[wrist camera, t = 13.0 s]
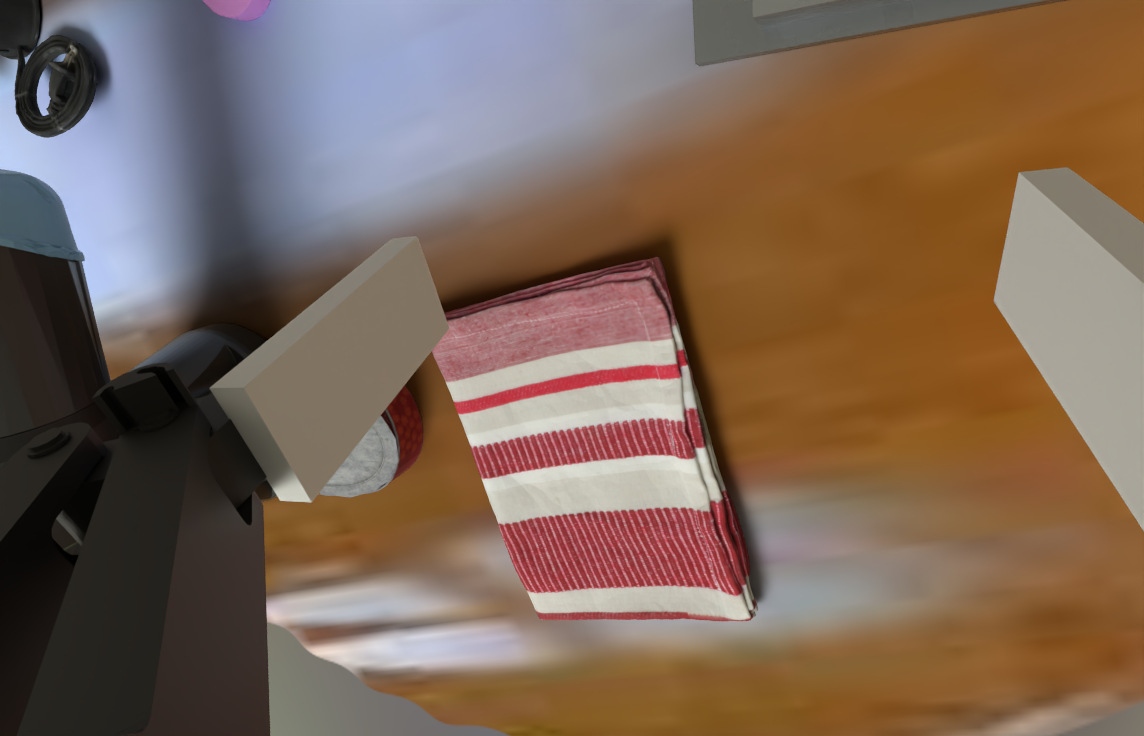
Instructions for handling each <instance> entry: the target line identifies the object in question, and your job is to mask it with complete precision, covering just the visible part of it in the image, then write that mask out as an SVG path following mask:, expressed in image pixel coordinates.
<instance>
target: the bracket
mask: <svg viewBox="0 0 1144 736" xmlns="http://www.w3.org/2000/svg"><path fill="white" fill-rule="evenodd" d="M203 1H204V2H205V4H206V5H207V6H208V7H209V8H210V9H211V10H212V11H213V12H215V13H216V14H218V15H220V16H223V17H228V18H233V19H238V20H243V21H250V20H254V19H256V18H258V17H259V16H261V15H262V14H263V13H264V12H265V10H266V9H267V7H268V5H269V3H270V1H271V0H203Z"/></svg>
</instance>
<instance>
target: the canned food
mask: <svg viewBox="0 0 1144 736" xmlns="http://www.w3.org/2000/svg"><path fill="white" fill-rule="evenodd" d="M422 444H423V426H422V419H421V416H420V413H419V410H418V407H417V405H416V403H415V401H414V399H413V397H412V395H411V393H410V392H409V390H408V389H407V387H406V386H405V385H404V386H403V388H402V389H401V390H400V391H399V393H398V394H397V395H396V397H395V398H394V399H393V400H392V402H391V403H390V404H389V405H388V407H387V408H386V409H385V410H384V412H383V413H382V414H381V415H380V417H379V418H378V419H377V421H376V422H375V423H374V424H373V426H372V427H371V428H370V429H369V431H368V432H367V433H366V434H365V436H364V437H363V438H362V439H361V441H360V442H359V443H358V445H357V446H356V447H355V448H354V450H353V451H352V452H351V453H350V455H349V456H348V457H347V458H346V460H345V461H344V462H343V463H342V465H341V466H340V467H339V469H338V470H337V471H336V472H335V474H334V475H333V476H332V477H331V479H330V480H329V481H328V482H327V484H326V485H325V486H324V487H323V489H322V490H321V491H320V492H319V494H321V495H326V496H343V497H354V496H358V495H361V494H366V493H372V492H376V491H379V490H380V489H382V488H384V487H385V486H387V485H388V484H389V483H390V482H391V481H393V480H394V479H395V478H397V477H398V476H399V475H401V474H402V473H403V472H405V471H406V470H407V469H409V468H410V467H411V466H412V465H413V464H414V463H415V462H416V460H417V458H418V456H419V454H420V452H421V448H422Z"/></svg>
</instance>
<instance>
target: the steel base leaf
mask: <svg viewBox="0 0 1144 736" xmlns="http://www.w3.org/2000/svg"><path fill="white" fill-rule="evenodd" d="M1060 1H1066V0H693V20H694V42H695V64H697V65H698V66H704V65H710V64H715V63H721V62H726V61H732V60H737V59H743V58H749V57H754V56H760V55H765V54H771V53H776V52H782V51H787V50H793V49H799V48H804V47H810V46H815V45H821V44H826V43H832V42H838V41H843V40H849V39H854V38H860V37H865V36H871V35H876V34H882V33H888V32H893V31H899V30H904V29H910V28H915V27H921V26H927V25H932V24H938V23H943V22H949V21H954V20H960V19H965V18H971V17H977V16H982V15H988V14H993V13H999V12H1004V11H1010V10H1015V9H1021V8H1027V7H1032V6H1038V5H1043V4H1049V3H1054V2H1060Z"/></svg>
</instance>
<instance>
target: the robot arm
mask: <svg viewBox="0 0 1144 736" xmlns="http://www.w3.org/2000/svg"><path fill="white" fill-rule="evenodd" d="M82 261H85V259H84V255H83V253H82V252H80V251H79V250H78V248H77V246H76V243H75V240H74V237H73V234H72V231H71V228H70V224H69V221H68V218H67V215H66V211H65V208H64V205H63V203H62V201H61V199H60V197H59V196H58V194H57V193H56V192H55V191H54V190H53V189H52V188H51V187H50V186H49V185H47V184H46V183H44V182H43V181H41V180H39V179H37V178H35V177H33V176H30V175H27V174H24V173H20V172H15V171H9V170H2V169H0V736H270V716H269V684H268V650H267V617H266V584H265V551H264V519H263V505H262V502H265V501H269V500H272V499H274V498H276V497H278V498H279V500H280V501H296V502H312V501H313V500H314V499H315V498H316V496H317V495H318V494H319V492H320V491H321V490H322V489H323V487H324V486H325V485H326V484H327V482H328V481H329V480H330V479H331V477H332V476H333V475H334V474H335V472H336V471H337V470H338V469H339V467H340V466H341V465H342V463H343V462H344V461H345V460H346V458H347V457H348V456H349V455H350V453H351V452H352V451H353V450H354V448H355V447H356V446H357V445H358V443H359V442H360V441H361V439H362V438H363V437H364V436H365V434H366V433H367V432H368V431H369V429H370V428H371V427H372V426H373V424H374V423H375V422H376V421H377V419H378V418H379V417H380V415H381V414H382V413H383V412H384V410H385V409H386V408H387V407H388V405H389V404H390V403H391V402H392V400H393V399H394V398H395V397H396V395H397V394H398V393H399V391H400V390H401V389H402V388H403V386H404V385H405V384H406V383H407V381H408V380H409V379H410V378H411V376H412V375H413V374H414V373H415V371H416V370H417V369H418V368H419V366H420V365H421V364H422V362H423V361H424V360H425V359H426V357H427V356H428V355H429V354H430V352H431V351H432V350H433V349H434V347H435V346H436V345H437V344H438V342H439V341H440V340H441V338H442V337H443V336H444V335H445V333H446V332H447V331H448V330H449V326H448V323H447V320H446V317H445V314H444V311H443V309H442V306H441V303H440V300H439V297H438V294H437V291H436V288H435V286H434V283H433V280H432V277H431V274H430V271H429V268H428V265H427V263H426V260H425V257H424V254H423V251H422V248H421V245H420V242H419V240H418V237H417V236H413V237H404V238H394V239H391V240H390V241H388V242H387V243H386V244H385V245H384V246H382V247H381V248H380V249H379V250H377V251H376V252H375V253H374V254H373V255H371V256H370V257H369V258H368V259H366V260H365V261H364V262H363V263H362V264H360V265H359V266H358V267H357V268H355V269H354V270H353V271H352V272H351V273H349V274H348V275H347V276H346V277H344V278H343V279H342V280H341V281H340V282H338V283H337V284H336V285H335V286H333V287H332V288H331V289H330V290H329V291H327V292H326V293H325V294H324V295H322V296H321V297H320V298H319V299H318V300H316V301H315V302H314V303H313V304H311V305H310V306H309V307H308V308H307V309H305V310H304V311H303V312H302V313H300V314H299V315H298V316H297V317H296V318H294V319H293V320H292V321H291V322H289V323H288V324H287V325H286V326H285V327H283V328H282V329H281V330H280V331H278V332H277V333H276V334H275V335H274V336H272V337H271V338H270V339H269V340H267V341H266V340H264V339H263V338H262V337H260V336H259V335H257V334H255V333H254V332H252V331H250V330H248V329H246V328H243V327H241V326H238V325H234V324H228V323H217V324H212V325H209V326H205V327H202V328H198V329H195V330H192V331H188V332H186V333H184V334H182V335H180V336H178V337H176V338H175V339H174V340H172V341H171V342H169V343H168V344H167V345H165V346H164V347H162V348H161V349H160V350H158V351H157V352H155V353H154V354H153V355H151V356H150V357H148V358H147V359H146V360H144V361H143V362H141V363H140V364H139V365H137V366H136V367H134V368H133V369H132V370H130V371H129V372H127V373H125V374H123V375H121V376H119V377H117V378H116V379H114V380H110V376H109V372H108V368H107V364H106V360H105V357H104V353H103V349H102V345H101V341H100V337H99V333H98V328H97V324H96V320H95V316H94V311H93V307H92V303H91V299H90V294H89V290H88V286H87V282H86V277H85V273H84V269H83V265H82ZM994 302H995V304H996V305H997V307H998V308H999V310H1000V311H1001V313H1002V315H1003V316H1004V318H1005V319H1006V321H1007V322H1008V324H1009V325H1010V327H1011V328H1012V330H1013V331H1014V333H1015V334H1016V336H1017V338H1018V339H1019V341H1020V342H1021V344H1022V345H1023V347H1024V348H1025V350H1026V351H1027V353H1028V354H1029V356H1030V357H1031V359H1032V361H1033V362H1034V364H1035V365H1036V367H1037V368H1038V370H1039V371H1040V373H1041V374H1042V376H1043V377H1044V379H1045V380H1046V382H1047V384H1048V385H1049V387H1050V388H1051V390H1052V391H1053V393H1054V394H1055V396H1056V397H1057V399H1058V400H1059V402H1060V403H1061V405H1062V407H1063V408H1064V410H1065V411H1066V413H1067V414H1068V416H1069V417H1070V419H1071V420H1072V422H1073V423H1074V425H1075V426H1076V428H1077V430H1078V431H1079V433H1080V434H1081V436H1082V437H1083V439H1084V440H1085V442H1086V443H1087V445H1088V446H1089V448H1090V449H1091V451H1092V452H1093V454H1094V456H1095V457H1096V459H1097V460H1098V462H1099V463H1100V465H1101V466H1102V468H1103V469H1104V471H1105V472H1106V474H1107V475H1108V477H1109V479H1110V480H1111V482H1112V483H1113V485H1114V486H1115V488H1116V489H1117V491H1118V492H1119V494H1120V495H1121V497H1122V498H1123V500H1124V502H1125V503H1126V505H1127V506H1128V508H1129V509H1130V511H1131V512H1132V514H1133V515H1134V517H1135V518H1136V520H1137V521H1138V523H1139V525H1140V526H1141V528H1142V529H1143V531H1144V223H1142V222H1141V221H1140V220H1138V219H1137V218H1136V217H1134V216H1133V215H1132V214H1130V213H1129V212H1128V211H1126V210H1125V209H1123V208H1122V207H1121V206H1119V205H1118V204H1117V203H1115V202H1114V201H1113V200H1111V199H1110V198H1109V197H1107V196H1106V195H1104V194H1103V193H1102V192H1100V191H1099V190H1098V189H1096V188H1095V187H1094V186H1092V185H1091V184H1090V183H1088V182H1087V181H1085V180H1084V179H1083V178H1081V177H1080V176H1079V175H1077V174H1076V173H1075V172H1073V171H1072V170H1070V169H1069V168H1068V167H1066V168H1056V169H1047V170H1037V171H1028V172H1019V175H1018V180H1017V185H1016V190H1015V195H1014V200H1013V205H1012V210H1011V216H1010V221H1009V226H1008V231H1007V236H1006V241H1005V246H1004V251H1003V256H1002V261H1001V266H1000V271H999V276H998V281H997V286H996V292H995V297H994Z"/></svg>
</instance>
